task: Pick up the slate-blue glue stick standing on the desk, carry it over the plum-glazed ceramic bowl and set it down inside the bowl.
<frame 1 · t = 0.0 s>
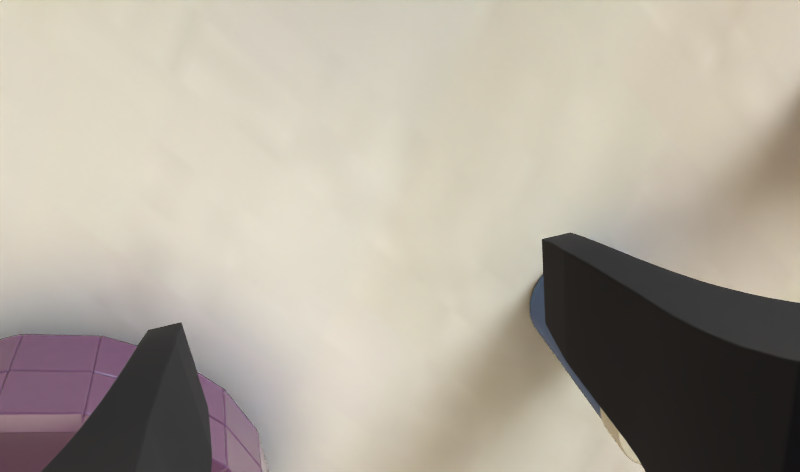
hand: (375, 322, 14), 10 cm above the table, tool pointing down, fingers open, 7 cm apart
glue stick: (577, 297, 28), on the table
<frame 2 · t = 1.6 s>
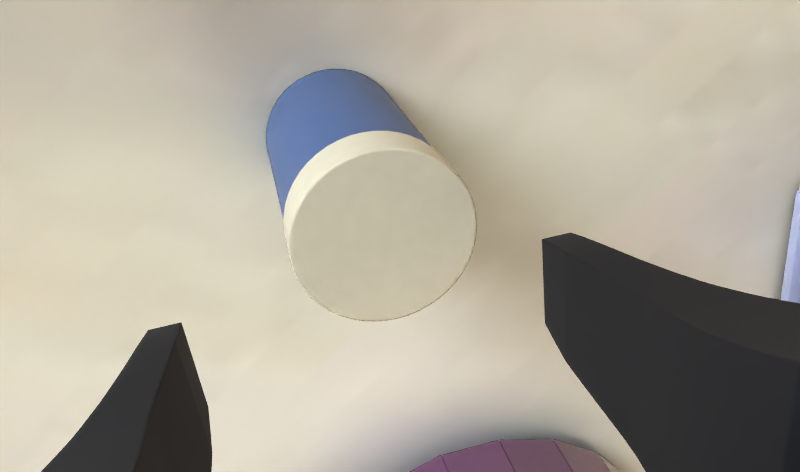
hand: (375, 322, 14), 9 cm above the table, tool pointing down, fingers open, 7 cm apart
glue stick: (334, 136, 22), on the table
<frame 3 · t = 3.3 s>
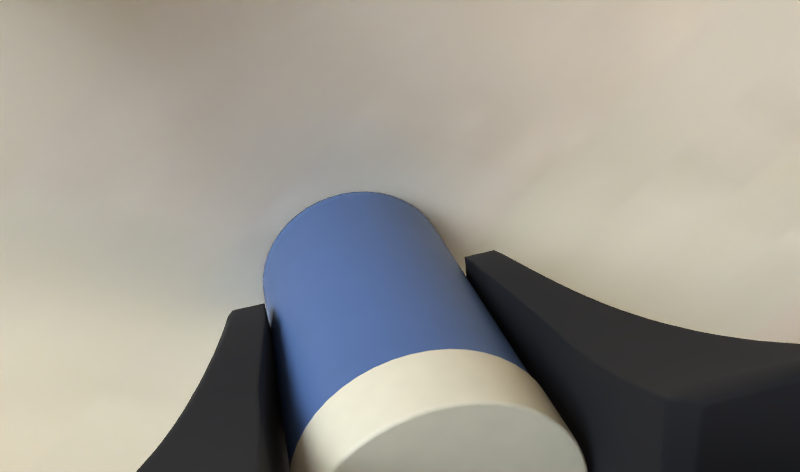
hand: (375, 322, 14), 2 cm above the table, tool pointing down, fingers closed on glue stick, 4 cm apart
glue stick: (356, 275, 16), on the table, touching gripper
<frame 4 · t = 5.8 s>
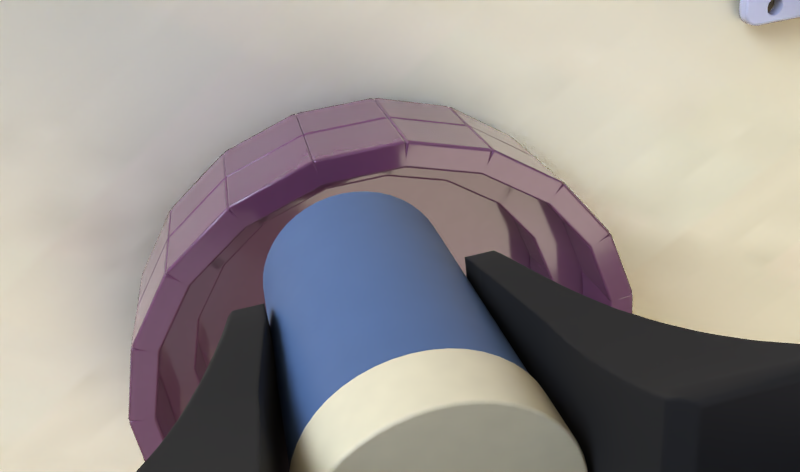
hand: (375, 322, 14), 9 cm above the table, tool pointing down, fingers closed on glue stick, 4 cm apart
glue stick: (355, 275, 16), point 7 cm above the table, touching gripper
bowl: (368, 304, 25), on the table
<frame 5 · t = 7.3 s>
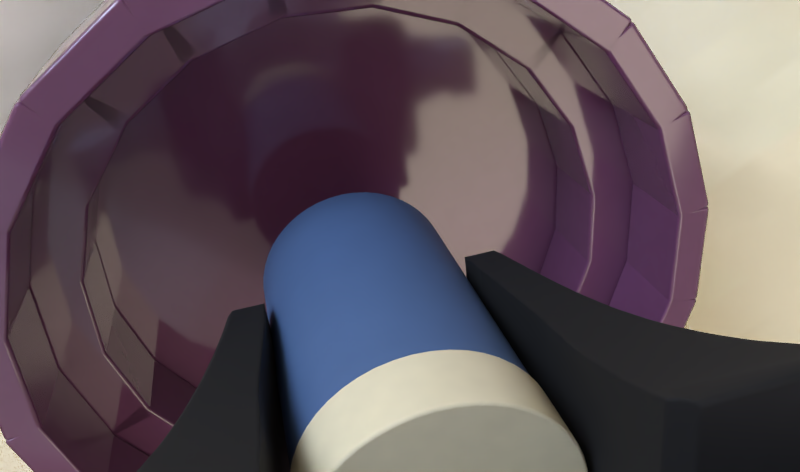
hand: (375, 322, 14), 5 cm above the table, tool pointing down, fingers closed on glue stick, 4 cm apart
glue stick: (356, 276, 16), point 3 cm above the table, touching gripper
bowl: (338, 222, 18), on the table
when the fingers open (2 cm above the table, at t = 8.4 s): glue stick stays where it is, resting on bowl.
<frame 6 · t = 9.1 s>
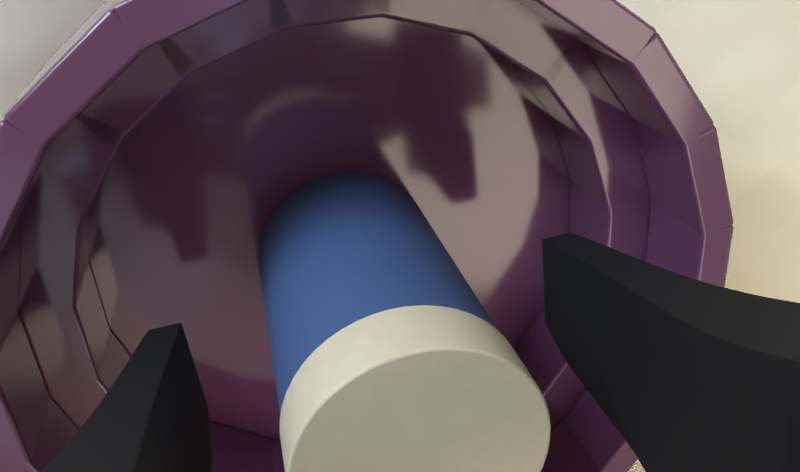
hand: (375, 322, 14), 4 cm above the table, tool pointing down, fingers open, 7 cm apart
glue stick: (345, 251, 17), point 1 cm above the table, touching bowl
bowl: (342, 239, 18), on the table
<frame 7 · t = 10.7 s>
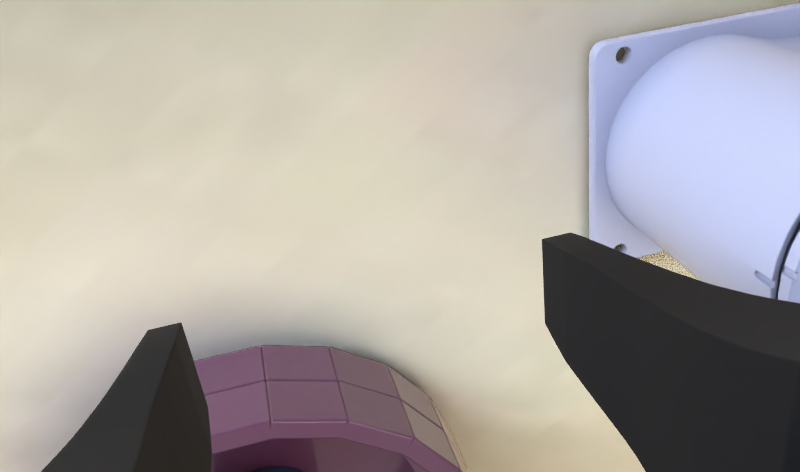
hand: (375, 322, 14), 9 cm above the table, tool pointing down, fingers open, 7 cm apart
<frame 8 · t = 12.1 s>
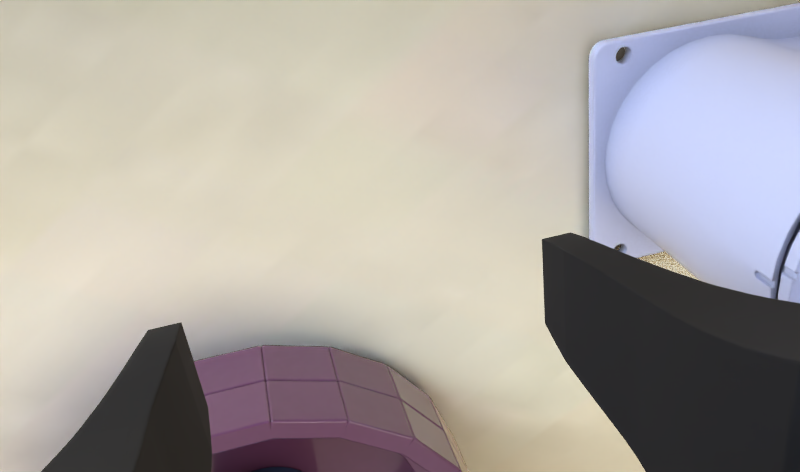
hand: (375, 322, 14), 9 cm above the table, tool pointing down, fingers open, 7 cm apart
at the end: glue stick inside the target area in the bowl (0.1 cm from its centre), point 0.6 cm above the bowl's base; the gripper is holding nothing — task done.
